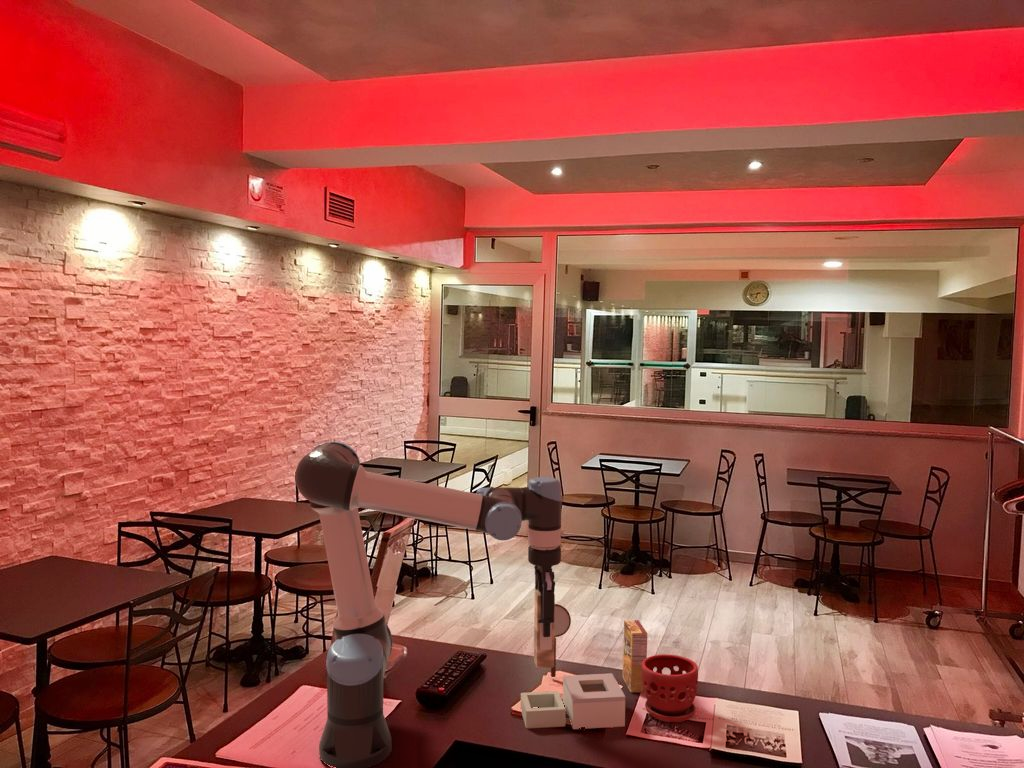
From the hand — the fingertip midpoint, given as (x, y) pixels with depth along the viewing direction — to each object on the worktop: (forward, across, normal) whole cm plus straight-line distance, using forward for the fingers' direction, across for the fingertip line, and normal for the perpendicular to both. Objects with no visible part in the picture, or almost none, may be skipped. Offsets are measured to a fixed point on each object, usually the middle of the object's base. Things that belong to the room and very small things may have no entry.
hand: (543, 644), depth 180 cm
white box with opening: (+17, 0, -12) cm, 21 cm away
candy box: (+18, +14, -26) cm, 34 cm away
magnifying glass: (+18, +19, -6) cm, 27 cm away
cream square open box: (+17, 0, 0) cm, 17 cm away
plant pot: (+18, -1, -30) cm, 35 cm away
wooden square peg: (+5, 0, 0) cm, 5 cm away
